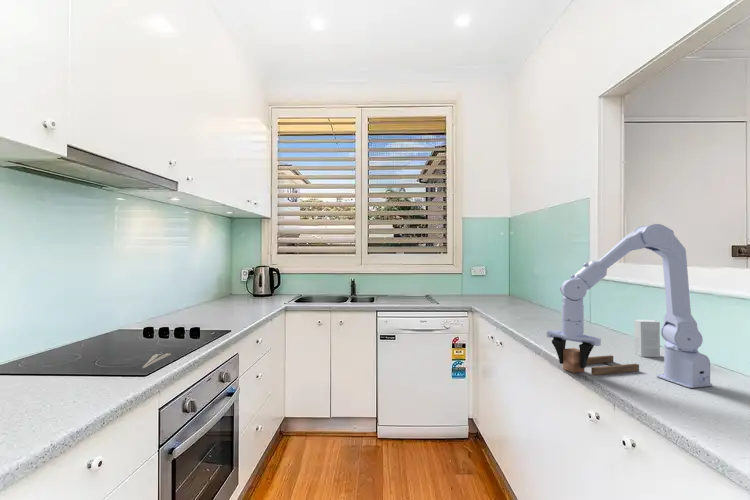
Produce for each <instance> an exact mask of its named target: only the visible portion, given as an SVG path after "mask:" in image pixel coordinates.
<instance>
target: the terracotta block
mask: <svg viewBox="0 0 750 500" xmlns="http://www.w3.org/2000/svg"><path fill="white" fill-rule="evenodd" d="M580 360H581V356H580V348H575V347H571V348H570V347H569V348H568V347H567V348H565V349H563V364H562V369H563V370H566V371H568V372H570V373H573V374H574V373H584V372H585V368H581V367H580Z"/></svg>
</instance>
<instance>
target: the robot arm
mask: <svg viewBox="0 0 750 500" xmlns="http://www.w3.org/2000/svg"><path fill="white" fill-rule="evenodd" d="M642 249H647V250H649V251H651V252H653V253H655V254H657V255H658V256H660V257H661V258H662V269H663V281H664V296H665V306H666V313H665V315H664V317H663V324H662V326H661V327H660V328H661V329H660V336H661V337H662V338H663V339H664V340H665V342H664V345H663V346H664V348H663V349H664V353H663V355H664V357H663V358H664V359H663V362H664V364H663V365H664V366H663V367H664V368H663V374H662V373H660V374H656V375H655V376H656V378H660V379H662V380H665V381H669V382H670V383H671V382H672V383H673V384H677V385H680V386H683V387H685V388H688V389H693V388H703V387H712V386H713V383H711V360H710V358H709V357H708V356H707V355H706V354H704V353H701V352H700V351H699V348H700V347H701V346H702V344H703V341H704V339H703V335H702V333H701V332H700V331H699V328H698V323H697V322H696V320H695V318H694V316H693V315H692V311H691V300H690V297H691V296H690V285H689V274H688V259H687V251H686V248H685V246H684V245H683V244H682V243H681V242H680V240H679V238H678V237H677V236H676V235H675V232H674V230H673V229H671V228H669V227H668V226H666V225H663V224H661V223H653V224H650V225H641V226H638V227H636V228H635V229H634V230H633V231H631V232H629V233H628V234H627V235H626V236H624V237H623V238H621V240H620V241H619V242H617V243H616V244H615V245H614V246H612V247H611V249H609V250H608V251H607V252H606V253H605V254H604V255H603V256H602V257H601V258H599V259H598V260H590V261H589V262H584V263H583V264H582V266H583V267H582V268H581V269H579V270H578V271H577V272H575V273H574V274H573V273H572V274H571V275H570V276H569V277H570V278H569V279H567V280H564V281H563V282H562V284H561V287H560V293H561V295H562V300H561V301H562V303H561V331H559V330H546V338H551V339H552V340H551V343H552V345H553V348H554V349H555V351H556V354H557V357H558V362H559V364H561V365H563V349H566V344H567V341H571V342H576V343H580V344H578V345H579V346H578V349H579V350H580V356H581V360H580V367H581V368H584V369H585V368H586V366H587V365H586V362H587V359H588V357H590V354H591V352H592V350H593V349H594V346H595V347H599V346H601V345H602V344H601V343H602V338H601V337H596V336H590V335H587V334H584V330H585V329H584V328H585V327H584V323H585V322H584V320H585V319H584V316H585V315H584V312H585V311H584V310H585V309H584V307H585V306H584V297H586V294H587V291H588V290H591V289H592V288H593V287H595V286H596V285H597V284H598V283H599V282H600V281H602V279H604V278H606V276H607V271H608V269H609V268H611V266H613V265H614V264H615V263H617V262H618V261H619V260H621V259H622V258H623V257H625V256H626V255H628V254H629V253H631V252H632V251H636V250H642Z"/></svg>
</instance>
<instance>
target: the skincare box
mask: <svg viewBox="0 0 750 500" xmlns="http://www.w3.org/2000/svg"><path fill="white" fill-rule="evenodd" d="M633 322H634V354H635V355H637V356H639V357H642V358H660V357H661V339H660V338H661V329H660V328H661V327H660V326H661V325H660V323H661V322H660V321H657V320H654V319H634V320H633Z"/></svg>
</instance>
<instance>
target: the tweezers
mask: <svg viewBox="0 0 750 500" xmlns="http://www.w3.org/2000/svg"><path fill="white" fill-rule="evenodd" d="M158 356H159V357H158ZM170 356H171V353H164V354H163V355H162V353H159V354H158V353H155V354H154V355H152V356H151V358H150V359H149V360H148V361H147V362H146V363H145V364H144V365H142V367H141V368H142V369H144V368H147V367H148V366H150V365H152V364H154V363H157V362H158V361H161V360H162V359H165V358H167V357H170Z"/></svg>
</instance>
